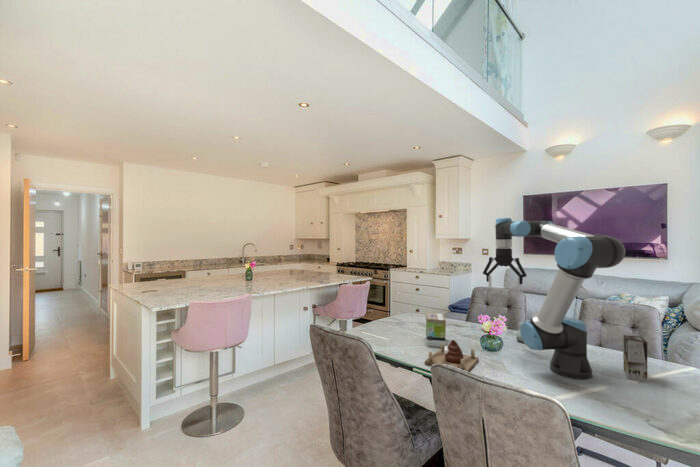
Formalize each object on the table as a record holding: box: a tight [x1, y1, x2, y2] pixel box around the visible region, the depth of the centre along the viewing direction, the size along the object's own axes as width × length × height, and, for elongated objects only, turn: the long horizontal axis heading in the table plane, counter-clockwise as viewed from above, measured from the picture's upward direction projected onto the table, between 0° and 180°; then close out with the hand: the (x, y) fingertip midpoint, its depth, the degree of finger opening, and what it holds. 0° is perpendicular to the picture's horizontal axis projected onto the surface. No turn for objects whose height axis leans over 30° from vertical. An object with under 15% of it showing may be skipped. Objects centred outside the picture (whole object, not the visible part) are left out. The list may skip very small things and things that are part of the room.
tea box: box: [425, 312, 447, 348], centre depth 178 cm, size 15×10×15 cm, turn 168°
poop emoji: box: [444, 339, 463, 363], centre depth 149 cm, size 10×8×9 cm
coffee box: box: [622, 334, 648, 383], centre depth 133 cm, size 9×6×16 cm
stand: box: [424, 343, 480, 373], centre depth 149 cm, size 19×19×6 cm
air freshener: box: [515, 321, 524, 343], centre depth 179 cm, size 11×8×10 cm
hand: (504, 289), depth 163 cm, fingers open, 13 cm apart
